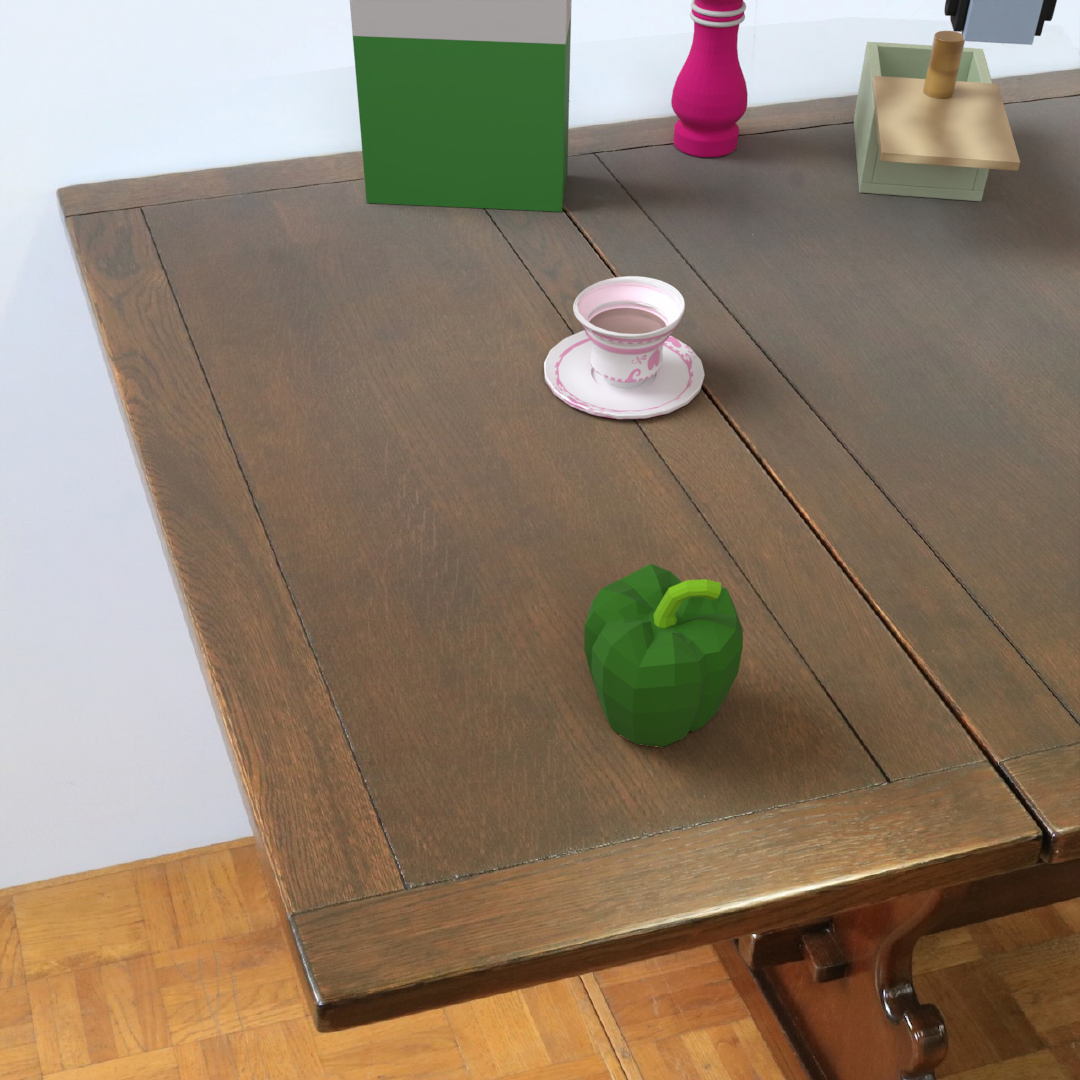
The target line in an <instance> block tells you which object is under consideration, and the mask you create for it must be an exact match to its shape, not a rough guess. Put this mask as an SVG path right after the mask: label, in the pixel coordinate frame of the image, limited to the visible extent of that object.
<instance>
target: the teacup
mask: <svg viewBox="0 0 1080 1080" xmlns="http://www.w3.org/2000/svg"><path fill="white" fill-rule="evenodd" d="M572 305H573V306H572V310H573V314H574V316H575V318H576V319H577V321H579V323H580V325H581V327H583V330H581V331H579V332H576V333H573V334H572V335H569V336H567V337H564V338H563V339H562V340H560V341H559V342H558V343H557V344H556V345H554V346H553V347H552V348H551V349H550V350H549V352H548V353H547V356H546V358H545V360H544V362H543V373H544V381H545V383H546V384H547V386H548V387H549V389H550V390H551V392H552V393H553V395H554V396H556V397H557V398H558V399H559V400H561V401H563V402H564V403H565V404H566V405H568V406H570V407H571V408H573V409H576V410H579V411H581V412H584V413H587V414H590V415H592V416H596V417H603V418H608V419H615V420H645V419H649V418H653V417H659V416H662V415H663V416H664V415H667V414H671V413H673V412H674V411H677V410H679V409H680V408H682V407H685V406H687V405H688V404H689V403H690V402H691V401H692V400H693V399H694V398H696V396H697V395H698V394H699V393H700V392H701V390H702V386H703V384H704V380H705V377H706V374H705V369H704V366H703V361H702V359H701V358H700V357H699V356H698V354H696V352H695V351H694V350H693V349H692V347H690V346H689V345H688V344H686V343H684V342H682V341H681V340H679V338H676V337H674V336H673V335H671V334H672V333H673V332H674V330H676V328H677V327H678V326H679V325H680V323H681V322H682V319H683V315H684V313H685V310H686V302H685V299H684V297H683V295H682V294H681V292H680V291H679V289H677V288H676V287H674V286H673V285H671V284H670V283H668V282H665V281H663V280H660V279H657V278H653V277H647V276H638V275H626V276H615V277H612V278H607V279H603V280H600V281H597V282H595V283H592V284H590V285H589V286H587V287H585V288H584V289H583V290H582V291H581V292H580V293H579V294H578V295H577V296H576V297H575V300H574V302H573V304H572Z"/></svg>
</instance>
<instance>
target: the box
mask: <svg viewBox="0 0 1080 1080" xmlns="http://www.w3.org/2000/svg"><path fill="white" fill-rule="evenodd" d="M932 45H933V44H931V45H929V44H914V43H898V42H897V43H896V42H883V41H882V42H881V41H866V45H865V51H864V56H863V63H862V68H861V73H860V80H859V85H858V91H857V97H856V103H855V109H854V115H853V132H854V133H853V134H854V145H855V156H856V157H855V159H856V169H857V183H858V193H861V194H876V195H887V196H888V195H889V196H899V197H900V196H901V197H915V198H929V199H943V200H956V201H970V202H982V200H983V196H984V191H985V188H986V184H987V181H988V176H989V172H990V169H985V168H971V167H957V166H943V165H929V164H915V163H901V162H887V161H880V154H879V144H878V135H877V126H876V117H875V107H874V98H873V89H872V81H873V76H885V77H901V78H916V79H926V74H927V69H928V64H929V60H930V55H931V50H932ZM989 69H990V68H989V66H988V63H987V58H986V54H985V51H984V48H975V47H964V48H963V52H962V57H961V61H960V66H959V70H958V75H957V79H956V81H962V82H978V83H993V81H992V77H991V74H990V70H989Z"/></svg>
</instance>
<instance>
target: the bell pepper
mask: <svg viewBox="0 0 1080 1080" xmlns="http://www.w3.org/2000/svg"><path fill="white" fill-rule="evenodd" d="M583 631H584V633H583V634H584V635H583V637H584V638H583V639H584V640H583V644H584V648H583V651H584V655H585V658H586V661H587V665H588V669H589V674H590V676H591V679H592V682H593V685H594V688H595V691H596V696H597V698H598V701H599V703H600V706H601V709H602V711H603V714H604V716H605V718H606V721H607V723H608V725H609V727H610V729H611V730H612V731H613V732H614V733H615V732H616V733H618V734H620V735H622V736H624V737H625V738H627V739H629V740H630V741H632V742H634V743H636V744H642V745H648V746H658V747H664V746H666V747H668V746H670V745H672V744H671V743H673V742H675V743H677V742H679V741H681V740H683V739H684V738H686V737H687V735H688V734H689V733H690V732H689V731H694V732H696V731H698V730H700V729H702V728H703V727H704V726H705V725H706V724H707V723H709V721H710V720H711V719H712V718H714V717H715V716H716V715H717V713H718V712H719V711H720V709H721V706H722V705H723V704H724V701H726V699H727V696H728V694H729V693H730V690H731V688H732V686H733V684H734V682H735V680H736V678H737V676H738V675H739V670H740V664H741V659H742V653H743V647H744V644H743V643H744V628H743V626H742V623H741V620H740V617H739V614H738V612H737V609H736V607H735V604H734V601H733V599H732V597H731V595H730V592H729V591H728V588H726V587H723V586H722V583H721V582H719V581H714V580H711V579H706V578H703V579H686V580H683V581H682V580H680V579H679V577H678V576H676V575H675V574H674V573H673V572H672V571H670V570H668V569H665V568H663V567H661V566H658V565H655V564H653V563H649V564H647V565H645V566H643V567H640V568H639V569H637V570H636V571H633V572H632V573H630V574H628V575H626V576H624V577H622V578H620V579H617V580H616V581H614V582H611V583H610V584H608V585H606V586H604V587H602V588H601V589H600V590H599V591H598V592H597V594H596V595H595V597H594V598H593V599H592V601H591V604H590V606H589V610H588V613H587V617H586V620H585V623H584V630H583ZM616 733H615V734H616ZM625 738H624V739H625ZM627 739H626V740H627ZM629 740H628V741H629ZM678 740H679V741H678ZM630 741H629V742H630ZM676 741H677V742H676ZM632 742H631V743H632ZM634 743H633V744H634ZM636 744H635V745H636ZM669 744H670V745H669ZM673 744H674V743H673ZM667 745H668V746H667ZM648 746H647V747H648ZM664 748H665V747H664Z"/></svg>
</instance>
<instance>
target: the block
mask: <svg viewBox="0 0 1080 1080" xmlns="http://www.w3.org/2000/svg"><path fill="white" fill-rule="evenodd" d="M1042 4H1043V0H970V3H969V8H968V13H967V17H966V22H965V26H964V30H962V31H961V32H960V33H961V34H962V35H963V39H964V41H965V42H973V43H974V42H975V43H991V44H1008V45H1009V44H1013V45H1028V46H1029V45H1030V46H1032V45H1033V43H1034V39H1035V37H1036V36H1035V32H1036V28H1037V24H1038V20H1039V16H1040V12H1041V8H1042Z"/></svg>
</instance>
